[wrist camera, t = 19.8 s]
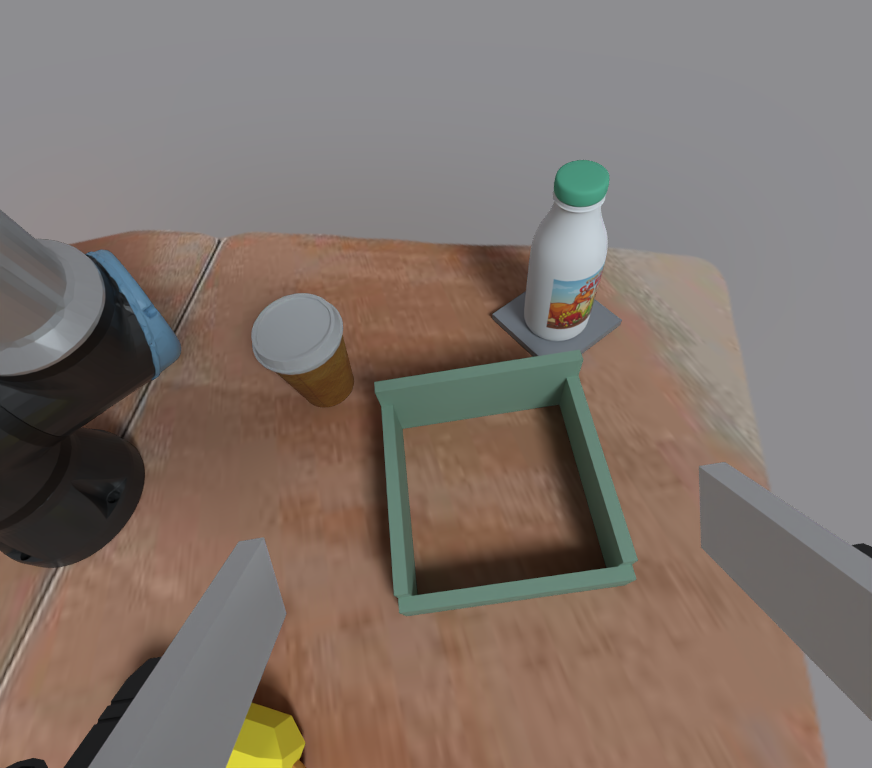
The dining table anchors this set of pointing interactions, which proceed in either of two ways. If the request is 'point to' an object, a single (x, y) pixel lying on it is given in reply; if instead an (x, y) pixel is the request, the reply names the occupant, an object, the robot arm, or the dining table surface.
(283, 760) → the yellow faceted block
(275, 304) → the disposable coffee cup
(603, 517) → the green wooden frame
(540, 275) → the milk bottle
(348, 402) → the dining table surface
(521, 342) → the slate tile
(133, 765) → the robot arm
